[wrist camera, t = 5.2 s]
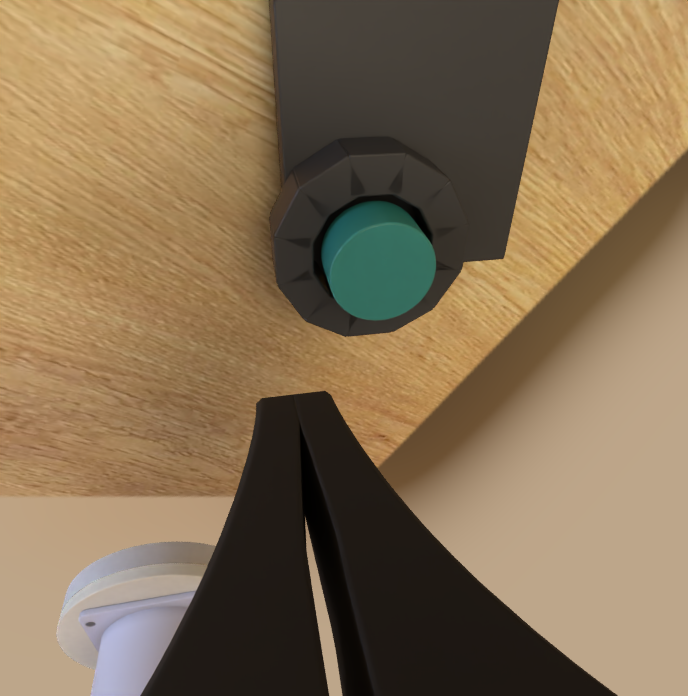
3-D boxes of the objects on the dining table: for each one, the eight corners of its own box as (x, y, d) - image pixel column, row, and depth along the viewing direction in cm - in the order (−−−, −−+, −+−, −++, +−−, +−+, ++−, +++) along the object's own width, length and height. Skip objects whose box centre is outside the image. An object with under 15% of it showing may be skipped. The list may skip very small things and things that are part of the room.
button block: (479, 275, 21) (517, 320, 18) (273, 292, 20) (281, 344, 17) (538, -44, 15) (609, -48, 12) (245, -50, 14) (249, -55, 11)
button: (414, 288, 17) (430, 316, 16) (321, 297, 17) (329, 326, 15) (424, 196, 15) (443, 218, 14) (319, 203, 15) (329, 226, 14)
